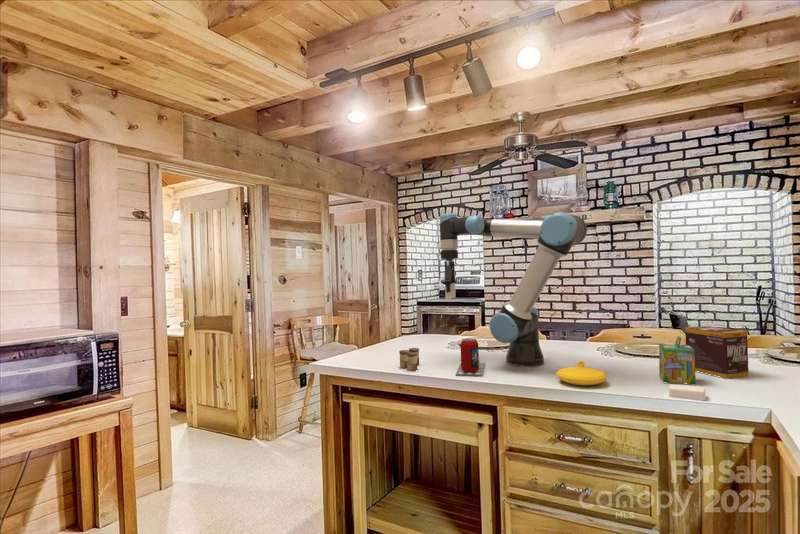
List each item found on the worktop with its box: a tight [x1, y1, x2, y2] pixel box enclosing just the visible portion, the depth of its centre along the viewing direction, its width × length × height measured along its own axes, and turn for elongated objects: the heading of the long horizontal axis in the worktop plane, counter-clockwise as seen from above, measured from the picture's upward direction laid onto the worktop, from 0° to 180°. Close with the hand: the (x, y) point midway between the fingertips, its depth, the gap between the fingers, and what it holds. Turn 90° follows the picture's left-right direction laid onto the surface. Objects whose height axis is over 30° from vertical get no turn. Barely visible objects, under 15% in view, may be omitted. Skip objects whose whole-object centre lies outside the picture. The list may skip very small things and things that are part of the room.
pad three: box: [455, 367, 485, 378], centre depth 167 cm, size 10×10×1 cm
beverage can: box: [460, 338, 480, 372], centre depth 168 cm, size 7×7×12 cm
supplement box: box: [684, 325, 750, 379], centre depth 156 cm, size 10×15×16 cm
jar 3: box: [406, 352, 419, 372], centre depth 176 cm, size 4×4×7 cm
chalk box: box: [658, 335, 697, 385], centre depth 148 cm, size 9×9×15 cm
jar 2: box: [408, 347, 420, 367], centre depth 185 cm, size 4×4×7 cm
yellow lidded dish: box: [556, 361, 608, 386], centre depth 149 cm, size 16×16×7 cm
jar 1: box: [399, 349, 410, 370], centre depth 180 cm, size 4×4×7 cm
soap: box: [668, 383, 707, 402], centre depth 130 cm, size 9×6×3 cm, turn 56°
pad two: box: [458, 362, 486, 370], centre depth 178 cm, size 10×10×1 cm
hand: (450, 299), depth 190 cm, fingers open, 13 cm apart
